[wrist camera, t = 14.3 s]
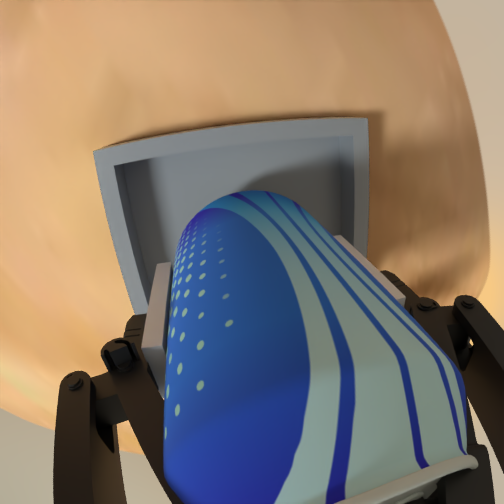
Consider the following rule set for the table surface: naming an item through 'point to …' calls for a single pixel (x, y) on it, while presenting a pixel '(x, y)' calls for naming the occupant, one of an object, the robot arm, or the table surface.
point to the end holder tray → (229, 183)
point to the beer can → (298, 370)
